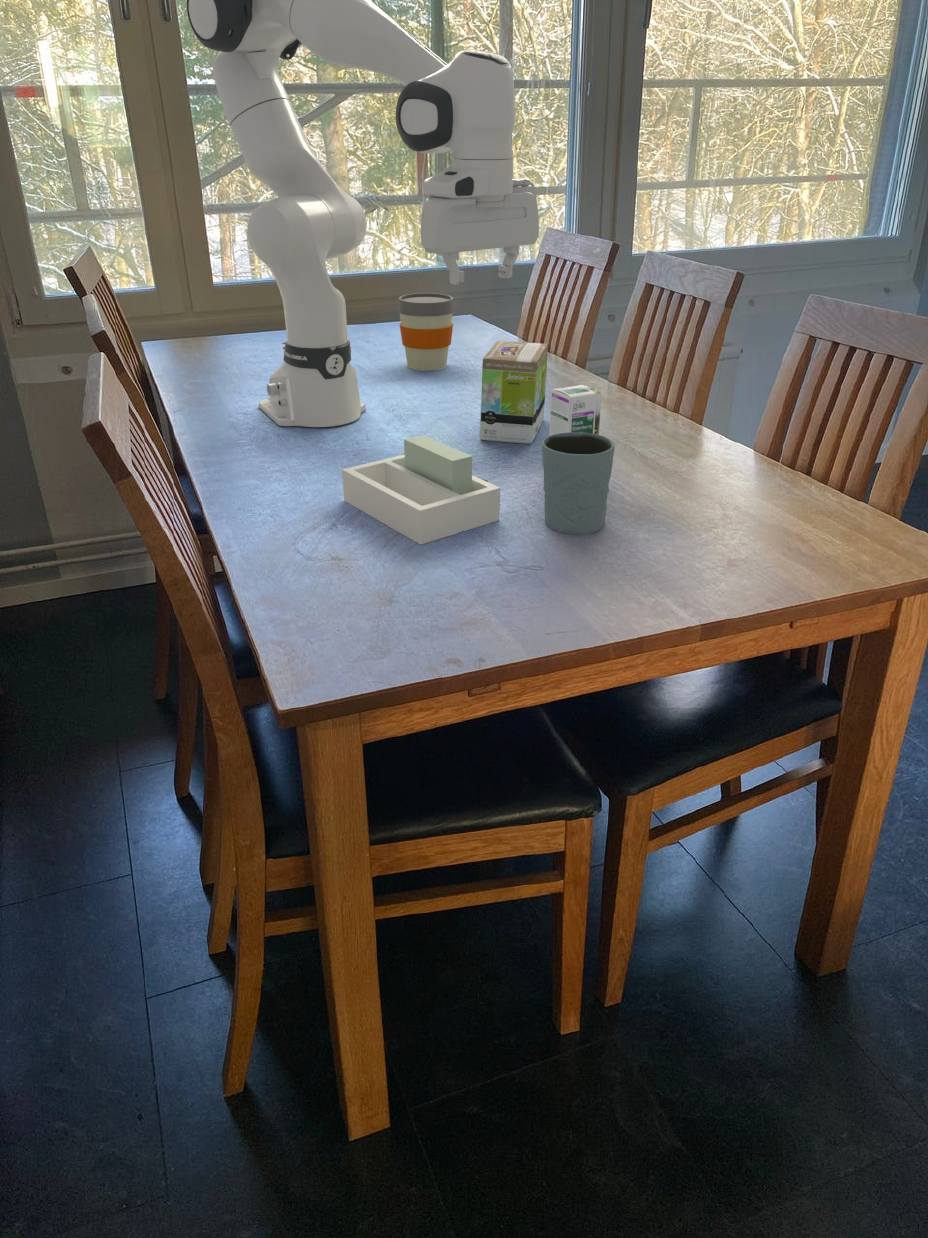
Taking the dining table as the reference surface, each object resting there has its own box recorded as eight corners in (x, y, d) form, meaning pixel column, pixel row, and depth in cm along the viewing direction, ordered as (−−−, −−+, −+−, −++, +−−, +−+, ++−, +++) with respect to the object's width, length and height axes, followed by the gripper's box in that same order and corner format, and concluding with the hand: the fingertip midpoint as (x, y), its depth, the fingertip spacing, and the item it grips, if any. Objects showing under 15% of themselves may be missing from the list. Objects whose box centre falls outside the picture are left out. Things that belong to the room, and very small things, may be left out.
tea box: (534, 445, 164) (537, 360, 156) (478, 441, 165) (479, 357, 158) (545, 420, 177) (548, 341, 169) (493, 416, 178) (494, 338, 171)
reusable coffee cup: (464, 364, 214) (465, 296, 206) (434, 375, 204) (433, 305, 197) (420, 356, 220) (418, 290, 212) (388, 367, 210) (386, 299, 203)
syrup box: (566, 487, 145) (571, 396, 138) (546, 476, 150) (550, 387, 143) (596, 481, 148) (603, 391, 141) (575, 470, 152) (581, 382, 145)
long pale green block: (405, 489, 142) (404, 439, 138) (425, 484, 144) (424, 434, 140) (452, 513, 133) (452, 460, 130) (472, 508, 135) (473, 455, 131)
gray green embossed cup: (589, 542, 127) (596, 459, 122) (525, 526, 132) (528, 445, 126) (619, 518, 135) (626, 438, 129) (557, 504, 140) (561, 426, 134)
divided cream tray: (344, 500, 140) (342, 469, 138) (425, 479, 148) (424, 449, 146) (420, 544, 127) (420, 510, 124) (505, 518, 135) (506, 486, 132)
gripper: (522, 176, 142) (519, 271, 149) (413, 182, 131) (415, 284, 138) (550, 178, 138) (545, 276, 145) (440, 184, 127) (440, 290, 134)
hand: (481, 280), depth 141 cm, fingers open, 8 cm apart
